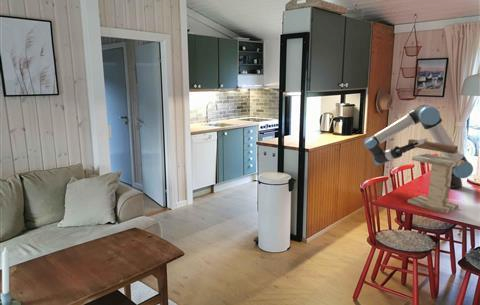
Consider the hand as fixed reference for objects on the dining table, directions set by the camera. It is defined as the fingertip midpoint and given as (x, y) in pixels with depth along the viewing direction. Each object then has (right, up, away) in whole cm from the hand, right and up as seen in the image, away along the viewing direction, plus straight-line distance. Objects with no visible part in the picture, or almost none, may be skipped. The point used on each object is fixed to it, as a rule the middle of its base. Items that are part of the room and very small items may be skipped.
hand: (425, 140), depth 222 cm
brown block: (+2, -5, -3) cm, 6 cm away
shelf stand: (+2, -39, -4) cm, 39 cm away
